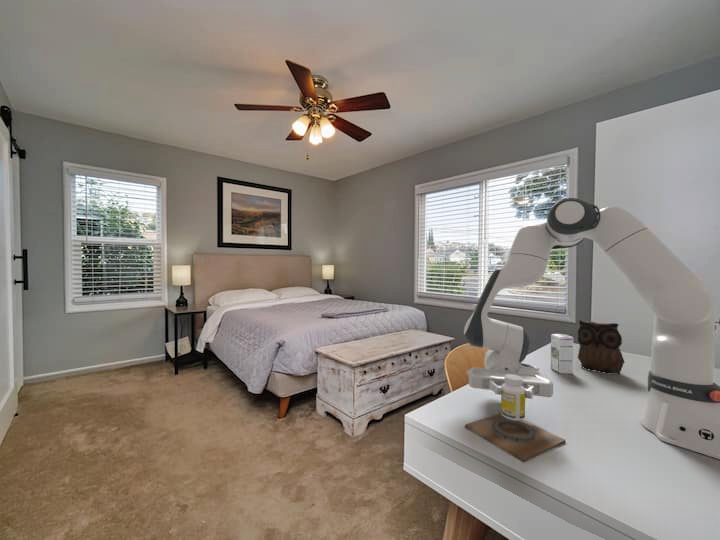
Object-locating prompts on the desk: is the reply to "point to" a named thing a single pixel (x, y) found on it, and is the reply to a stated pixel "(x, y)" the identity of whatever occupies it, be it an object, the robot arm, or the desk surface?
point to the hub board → (515, 436)
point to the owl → (600, 346)
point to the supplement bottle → (513, 398)
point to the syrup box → (562, 353)
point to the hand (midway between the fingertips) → (513, 393)
